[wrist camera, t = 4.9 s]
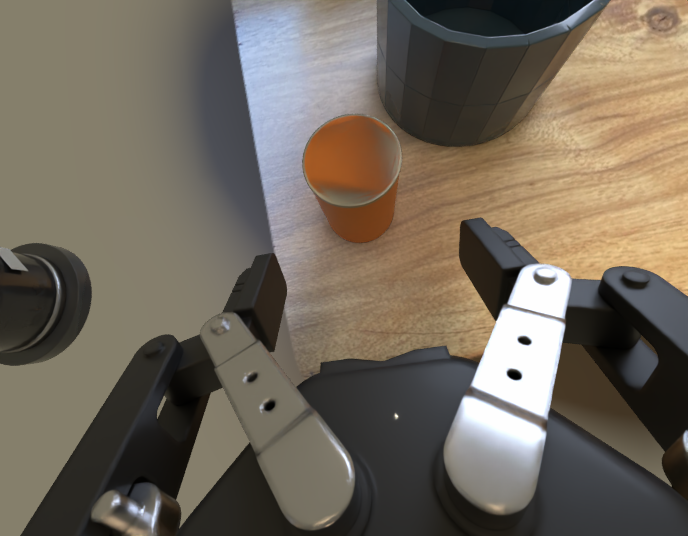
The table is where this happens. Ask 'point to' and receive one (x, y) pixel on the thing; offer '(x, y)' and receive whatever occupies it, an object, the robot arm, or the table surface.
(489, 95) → the pot
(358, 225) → the orange tin
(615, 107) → the table surface
